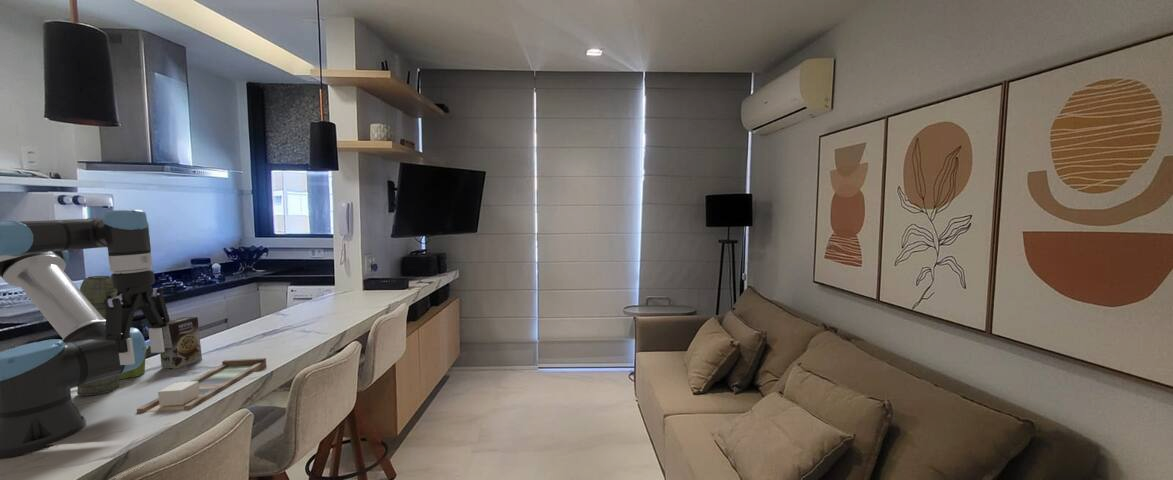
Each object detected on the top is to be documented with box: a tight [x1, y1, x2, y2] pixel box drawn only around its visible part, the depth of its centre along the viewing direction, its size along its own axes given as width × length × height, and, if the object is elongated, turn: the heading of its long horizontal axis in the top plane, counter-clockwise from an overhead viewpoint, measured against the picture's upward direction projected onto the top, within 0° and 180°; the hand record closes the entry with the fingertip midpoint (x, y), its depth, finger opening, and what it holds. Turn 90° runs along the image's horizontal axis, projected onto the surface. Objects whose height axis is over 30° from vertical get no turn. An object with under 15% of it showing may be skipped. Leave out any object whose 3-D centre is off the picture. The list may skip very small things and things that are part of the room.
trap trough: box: [136, 357, 268, 414], centre depth 134 cm, size 33×13×3 cm, turn 6°
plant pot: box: [119, 345, 149, 380], centre depth 146 cm, size 9×9×9 cm
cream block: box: [157, 381, 200, 406], centre depth 123 cm, size 6×6×4 cm
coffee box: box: [159, 316, 203, 370], centre depth 155 cm, size 9×6×16 cm
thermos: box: [76, 275, 121, 396], centre depth 134 cm, size 9×12×35 cm
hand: (143, 357), depth 112 cm, fingers open, 8 cm apart
